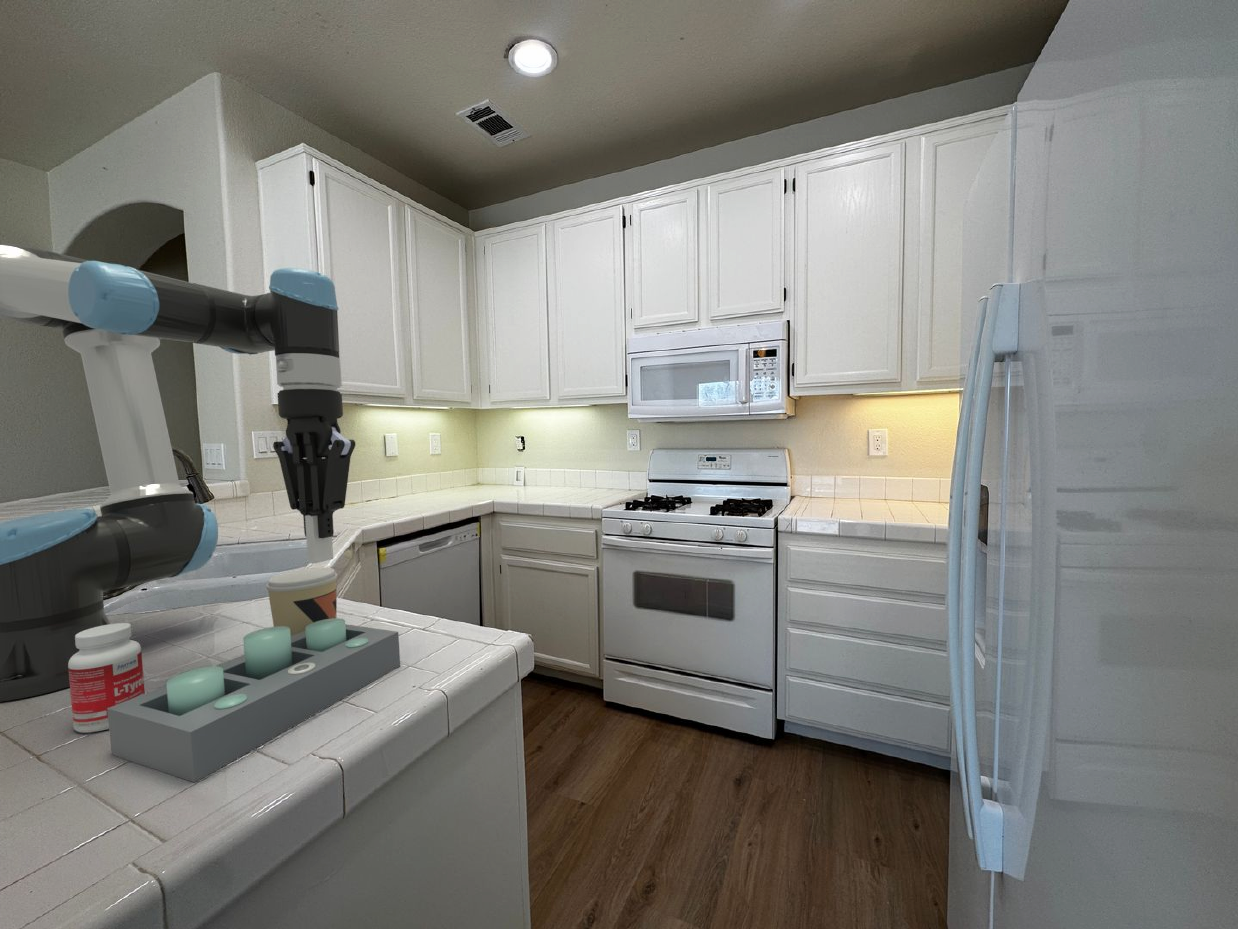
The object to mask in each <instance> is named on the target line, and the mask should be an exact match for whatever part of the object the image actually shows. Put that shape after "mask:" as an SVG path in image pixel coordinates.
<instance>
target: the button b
mask: <svg viewBox="0 0 1238 929" xmlns="http://www.w3.org/2000/svg"><path fill="white" fill-rule="evenodd" d="M242 642H243V652H244V654H243V655H245V668H246V677H248V678H253V679H257V680H261V679H263V678H265V677H268V676H270V675H272V674H274V673H277V672H279V671H281V670H283V669H285V668H288V667H290V666H292V665H293V664H292V650H291V636H290V628H289V627H286V626H277V627H274V626H270V627H265V628H260V629H258V630H255V631H252V632H248V633H247V634H246V635H245V636H243V640H242Z"/></svg>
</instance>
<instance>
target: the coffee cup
mask: <svg viewBox="0 0 1238 929" xmlns="http://www.w3.org/2000/svg"><path fill="white" fill-rule="evenodd" d="M337 579H338V573H337V572H336V570H335V569H334V568H333V567H332V568H331V567H321V566H320V567H308V568H300V569H296V570H295V569H294V570H290V571H286V572H282V573H280V574H275V575H273V576H272V577H270V578H269V579H268V580H267V581H268V582H267V583H266V590H267V591H268V598H269V605H270V611H271V618H272V624H273V627H277V626H286V627H289V628H290V636H293V635H295V634H298V633H300V632H303V631H305V630H306V629H305V628H306V626H308V625H309V624H311V623H314V622H317V621H320V620H325V619H332V618H338V617H337V616H338V615H337V612H338V610H337V601H338V599H337V594H338V593H337V592H338V591H337Z"/></svg>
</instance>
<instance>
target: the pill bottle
mask: <svg viewBox="0 0 1238 929" xmlns="http://www.w3.org/2000/svg"><path fill="white" fill-rule="evenodd" d="M131 637H132V625H131V624H130V623H129V622H128V623H126V622H117V623H111V624H109V625H103V626H98V627H94V628H91V629H87V630H84V631H82V632H80V633H78V634H76V635H75V645H76V648H78V649H80V650H79V652H77V653H76V654H74V655H73V656H72V657H71V658H70V660H69V663H68V671H69V682H70V686H69V689H70V702H71V703H70V704H71V712H72V713H71V714H72V724H73V728H74V730H75V731H76V732H78V733H86V734H88V733H95V732H101V731H105V730H109V722H108V711H107V708H110V707H112V706H115V705H117V704H120V703H122V702H125V701H127V700H130V699H133V698H135V697H138V696H140V695H143V694H145V693H146V692H145V691H146V690H145V680H144V678H145V677H144V669H143V668H144V666H143V654H142V653H143V652H142V646H141V644H140V643H139V642H138V641H135V640H131V639H130V638H131Z"/></svg>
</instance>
